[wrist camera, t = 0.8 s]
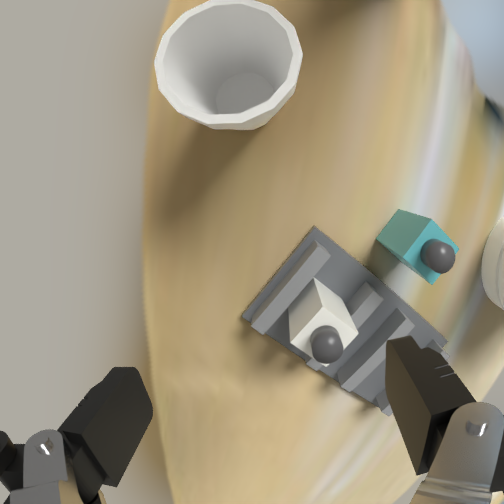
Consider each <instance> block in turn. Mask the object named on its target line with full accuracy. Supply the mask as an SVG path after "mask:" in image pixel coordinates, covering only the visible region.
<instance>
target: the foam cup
mask: <svg viewBox="0 0 504 504" xmlns="http://www.w3.org/2000/svg"><path fill="white" fill-rule="evenodd" d="M302 57H303V53H302V49H301V46H300V43H299V40H298V36H297V33H296V30H295V27H294V26H293V25H292V24H291V23H290V22H289V21H288V20H287V19H286V18H285V17H284V16H283V15H282V14H280V13H279V12H278V11H277V10H276V9H275V8H274V7H272V6H270V5H267V4H264V3H261V2H258V1H255V0H210V1H207V2H205V3H203V4H201V5H199V6H197V7H194V8H192V9H190V10H188V11H186V12H184V13H183V14H182V15H181V16H180V17H179V18H178V19H177V20H176V21H175V22H174V23H173V25H172V26H171V27H170V28H169V29H168V30H167V31H166V32H165V33H164V34H163V36H162V39H161V42H160V45H159V48H158V51H157V54H156V58H155V61H154V65H155V71H156V76H157V82H158V88H159V90H160V91H161V93H162V94H163V95H164V96H165V97H166V99H167V100H168V101H169V102H170V103H171V105H172V106H173V107H174V108H175V109H176V111H177V112H179V113H180V114H182V115H183V116H185V117H187V118H189V119H191V120H193V121H196V122H198V123H200V124H203V125H205V126H207V127H210V128H212V129H214V130H215V129H234V130H254V129H256V128H259V127H261V126H263V125H265V124H267V123H268V121H269V120H270V119H271V118H272V117H273V116H275V115H276V113H277V112H278V111H279V110H280V109H281V108H282V107H283V105H284V104H285V103H286V102H287V101H288V100H289V99H290V97H291V96H292V95H293V94H294V92H295V88H296V84H297V80H298V75H299V71H300V67H301V62H302Z"/></svg>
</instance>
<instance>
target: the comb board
mask: <svg viewBox="0 0 504 504" xmlns="http://www.w3.org/2000/svg"><path fill="white" fill-rule="evenodd" d="M313 277H314V278H316V279H317V280H318V281H320V282H321V283H322V284H323V285H325V286H326V287H327V288H329V289H330V290H331V291H332V292H334V293H335V294H336V295H338V296H339V297H340V298H341V299H342V300H343V302H344V304H345V306H346V308H347V310H348V312H349V314H350V316H351V318H352V321H353V323H354V325H355V327H356V329H357V331H358V333H359V334H358V335H357V336H356V337H355V338H354V339H353V340H352V341H351V342H350V343H349V345H348V346H347V347H346V348H345V349H344V350H343V354H342V356H341V357H340V358H339V359H338V360H337V361H335V362H333V363H330V364H329V365H328V366H327V367H325V366H324V365H322V364H321V363H319V362H318V361H316V360H315V359H313V358H312V357H310V356H309V355H307V354H306V353H305V352H303V351H302V350H300V349H299V348H297V347H296V346H294V345H293V344H291V343H290V331H289V313H288V306H289V305H290V304H291V303H292V302H293V301H294V299H295V298H296V297H297V296H298V295H299V294H300V292H301V291H302V290H303V289H304V288H305V286H306V285H307V284H308V283H309V282H310V281H311V279H312V278H313ZM242 317H243V318H244V319H246V320H247V321H249V322H250V323H251V327H252V328H254V329H255V330H257V331H258V332H259V333H261V334H262V335H264V334H265V333H266V334H267V335H269V336H270V337H271V338H273V339H274V340H276V341H277V342H279V343H280V344H282V345H283V346H285V347H286V348H287V349H289V350H290V351H292V352H293V353H295V354H296V355H298V356H299V357H301V358H302V359H304V360H305V361H306V364H307V365H308V366H310V367H311V368H313V369H314V370H316V371H318V370H320V371H322V372H323V373H325V374H327V375H328V376H330V377H331V378H333V379H334V380H336V381H337V382H339V383H340V386H341V387H342V388H344V389H345V390H347V391H349V392H351V391H353V392H355V393H356V394H358V395H359V396H361V397H363V398H364V399H366V400H367V401H369V402H371V403H372V404H374V405H376V406H377V407H379V408H380V409H381V412H383V413H384V414H386V415H388V416H390V415H391V414H392V413H393V411H392V409H391V406H390V404H389V401H388V399H387V395H386V389H385V364H386V342H387V340H391V339H395V338H400V337H404V336H409V335H411V336H412V337H413V339H414V340H415V341H416V343H417V344H418V346H419V347H420V348H421V349H423V348H427V347H429V348H431V349H433V350H435V351H436V352H438V353H440V354H441V355H442V356H443V357H444V359H445V360H447V359H448V358H449V357H450V356H449V355H448V354H447V353H446V352H445V351H444V349H443V347H444V345H445V344H446V343H447V342H448V341H447V340H446V339H445V338H444V337H443V336H442V335H441V334H440V333H439V332H438V331H437V330H436V329H435V328H434V327H433V326H431V325H430V324H429V323H428V322H427V321H426V320H425V319H424V318H423V317H422V316H420V315H419V314H418V313H417V312H416V311H415V310H414V309H413V308H412V307H410V306H409V305H408V304H407V303H406V302H405V301H404V300H403V299H401V298H400V297H399V296H398V295H397V294H396V293H395V292H393V291H392V290H391V289H390V288H389V287H388V286H386V285H385V284H384V283H383V282H382V281H381V280H379V279H378V278H377V277H376V276H375V275H374V274H372V273H371V272H370V271H369V270H368V269H367V268H365V267H364V266H363V265H362V264H361V263H359V262H358V261H357V260H356V259H355V258H353V257H352V256H351V255H350V254H349V253H347V252H346V251H345V250H344V249H342V248H341V247H340V246H339V245H338V244H336V243H335V242H334V241H333V240H331V239H330V238H329V237H328V236H327V235H325V234H324V233H323V232H322V231H320V230H319V229H318V228H317V227H315V226H313V227H312V229H311V230H310V231H309V232H308V234H307V235H306V236H305V237H304V239H303V240H302V241H301V242H300V244H299V245H298V246H297V247H296V249H295V250H294V251H293V252H292V254H291V255H290V256H289V257H288V259H287V260H286V261H285V262H284V264H283V265H282V266H281V267H280V268H279V270H278V271H277V272H276V273H275V275H274V276H273V277H272V278H271V280H270V281H269V282H268V283H267V284H266V286H265V287H264V288H263V289H262V290H261V292H260V293H259V294H258V295H257V297H256V298H255V299H254V300H253V301H252V303H251V304H250V305H249V306H248V307H247V309H246V310H245V311H244V312H243V314H242Z"/></svg>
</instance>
